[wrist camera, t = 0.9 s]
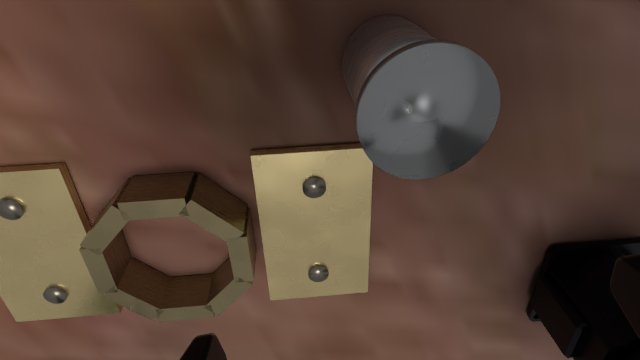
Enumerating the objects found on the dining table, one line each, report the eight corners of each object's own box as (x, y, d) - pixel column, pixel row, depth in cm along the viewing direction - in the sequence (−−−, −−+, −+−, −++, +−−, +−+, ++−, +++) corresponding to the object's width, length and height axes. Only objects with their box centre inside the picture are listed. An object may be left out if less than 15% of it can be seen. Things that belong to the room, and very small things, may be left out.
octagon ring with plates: (371, 142, 21) (381, 165, 19) (365, 284, 26) (373, 315, 24) (-65, 171, 19) (-106, 199, 17) (22, 313, 25) (-2, 348, 23)
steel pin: (440, 4, 17) (514, 39, 12) (429, 106, 20) (486, 174, 14) (333, 9, 17) (357, 47, 12) (335, 112, 20) (355, 184, 14)
